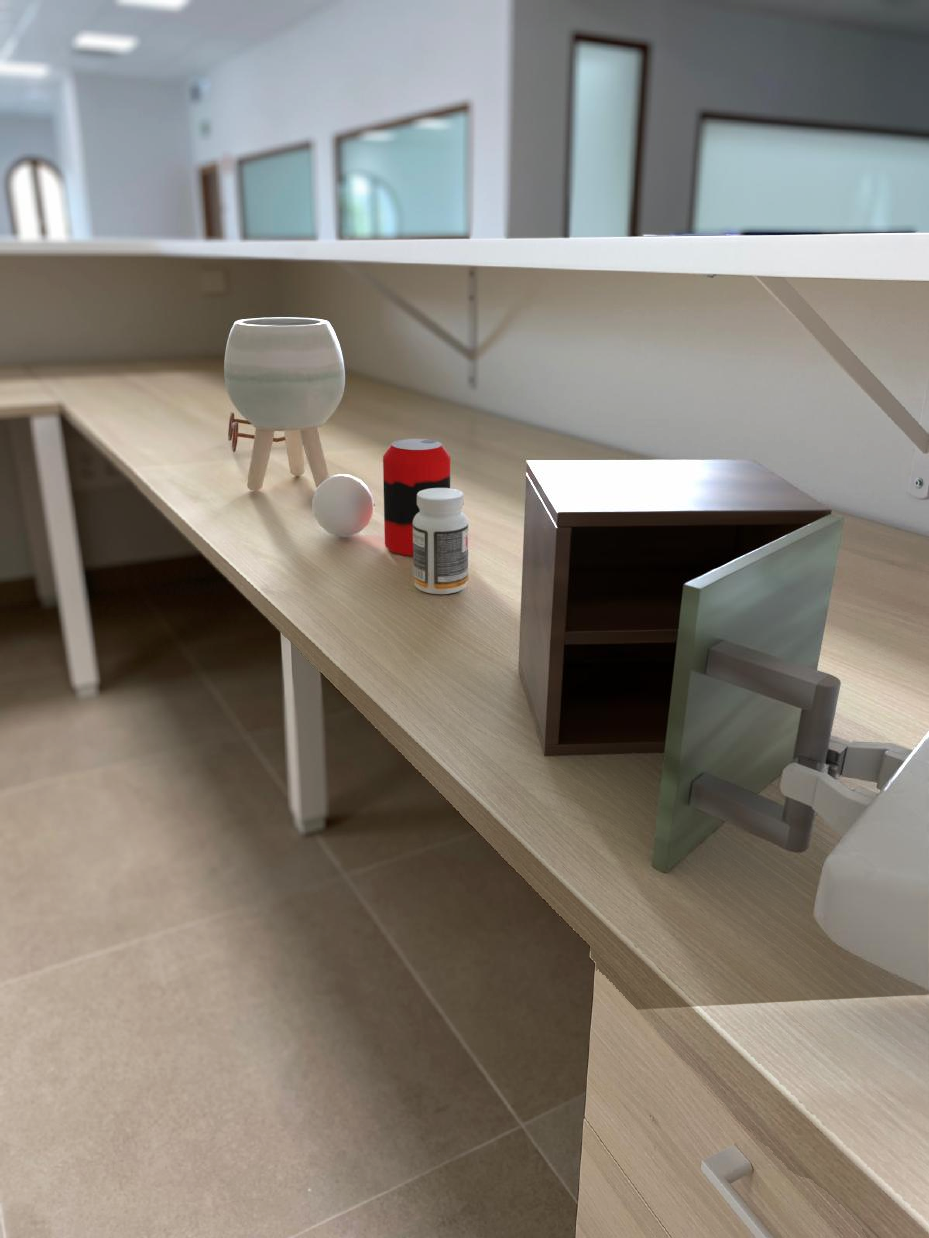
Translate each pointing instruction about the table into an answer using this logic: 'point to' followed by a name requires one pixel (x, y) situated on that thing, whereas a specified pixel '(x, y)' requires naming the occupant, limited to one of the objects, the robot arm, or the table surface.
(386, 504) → the soda can
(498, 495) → the table surface
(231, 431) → the glasses
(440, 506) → the pill bottle
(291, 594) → the table surface
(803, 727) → the cupboard door
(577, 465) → the cupboard
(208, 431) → the table surface
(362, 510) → the white ovoid
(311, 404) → the planter
